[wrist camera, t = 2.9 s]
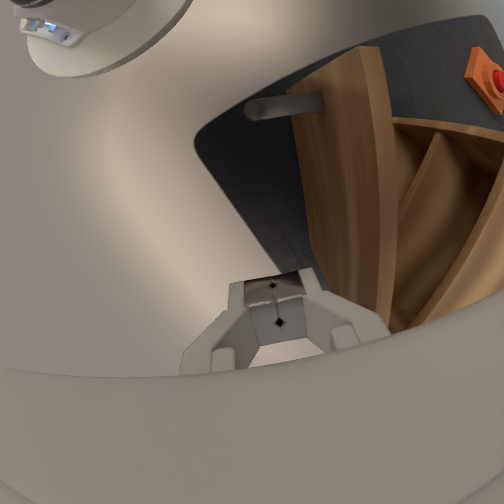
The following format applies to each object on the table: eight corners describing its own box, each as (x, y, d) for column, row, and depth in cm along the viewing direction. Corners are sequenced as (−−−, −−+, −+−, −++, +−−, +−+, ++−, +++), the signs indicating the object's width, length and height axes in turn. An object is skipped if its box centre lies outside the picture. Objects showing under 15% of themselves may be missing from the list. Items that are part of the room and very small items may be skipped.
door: (270, 258, 39) (297, 387, 19) (238, 98, 29) (235, 54, 9) (318, 248, 38) (380, 366, 19) (295, 89, 28) (379, 47, 9)
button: (490, 81, 22) (498, 81, 21) (494, 67, 21) (500, 67, 19) (501, 95, 23) (508, 96, 22) (504, 81, 22) (511, 81, 20)
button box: (463, 77, 26) (479, 77, 22) (471, 47, 23) (486, 45, 19) (493, 114, 28) (508, 116, 24) (501, 84, 25) (515, 85, 21)
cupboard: (319, 251, 39) (381, 370, 19) (389, 116, 30) (519, 136, 10) (393, 283, 42) (461, 377, 23) (455, 173, 33) (559, 225, 14)
